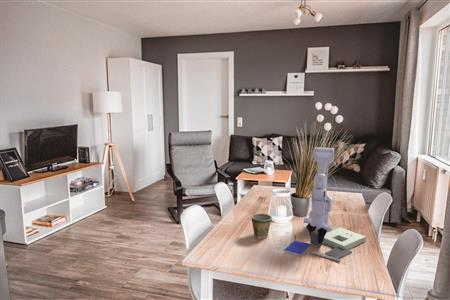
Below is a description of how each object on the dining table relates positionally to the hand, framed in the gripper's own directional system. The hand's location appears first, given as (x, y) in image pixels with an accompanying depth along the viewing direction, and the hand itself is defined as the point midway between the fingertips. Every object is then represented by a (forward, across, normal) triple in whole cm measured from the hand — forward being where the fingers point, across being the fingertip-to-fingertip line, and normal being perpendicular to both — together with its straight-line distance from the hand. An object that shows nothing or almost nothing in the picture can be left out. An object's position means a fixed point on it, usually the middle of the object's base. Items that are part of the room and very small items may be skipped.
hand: (316, 241), depth 152 cm
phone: (+1, +12, 0) cm, 12 cm away
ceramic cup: (+2, -23, -14) cm, 27 cm away
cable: (+1, +11, -8) cm, 14 cm away
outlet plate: (+1, +5, +13) cm, 14 cm away
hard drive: (+2, -2, -11) cm, 11 cm away
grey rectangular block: (+1, 0, 0) cm, 1 cm away
